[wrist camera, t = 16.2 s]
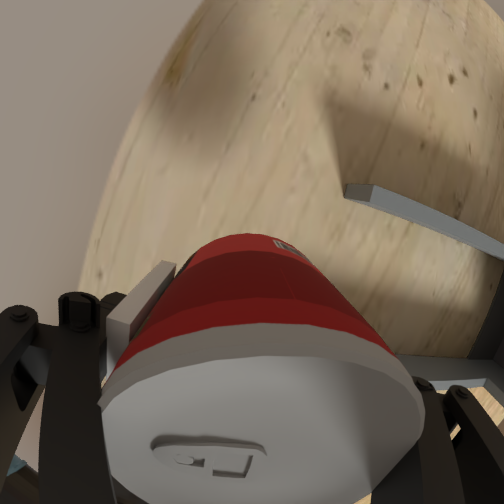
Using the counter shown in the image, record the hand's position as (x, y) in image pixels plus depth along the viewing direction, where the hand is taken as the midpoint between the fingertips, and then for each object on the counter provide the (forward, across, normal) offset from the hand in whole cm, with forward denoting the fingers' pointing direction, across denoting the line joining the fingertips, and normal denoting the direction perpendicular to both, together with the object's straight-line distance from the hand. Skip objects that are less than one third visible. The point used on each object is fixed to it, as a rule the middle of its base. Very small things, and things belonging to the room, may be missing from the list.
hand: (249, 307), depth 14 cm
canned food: (+2, 0, 0) cm, 2 cm away
